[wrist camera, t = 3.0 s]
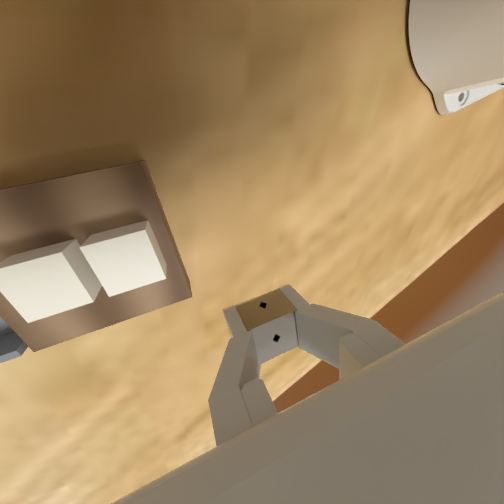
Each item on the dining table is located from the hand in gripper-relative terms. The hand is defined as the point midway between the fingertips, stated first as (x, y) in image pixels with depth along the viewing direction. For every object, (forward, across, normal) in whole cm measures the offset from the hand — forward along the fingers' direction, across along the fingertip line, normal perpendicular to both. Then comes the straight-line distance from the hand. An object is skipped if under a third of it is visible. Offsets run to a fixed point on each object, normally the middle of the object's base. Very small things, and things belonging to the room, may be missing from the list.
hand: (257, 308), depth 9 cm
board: (+14, +10, 0) cm, 17 cm away
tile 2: (+11, +6, 0) cm, 13 cm away
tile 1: (+11, +11, 0) cm, 16 cm away
